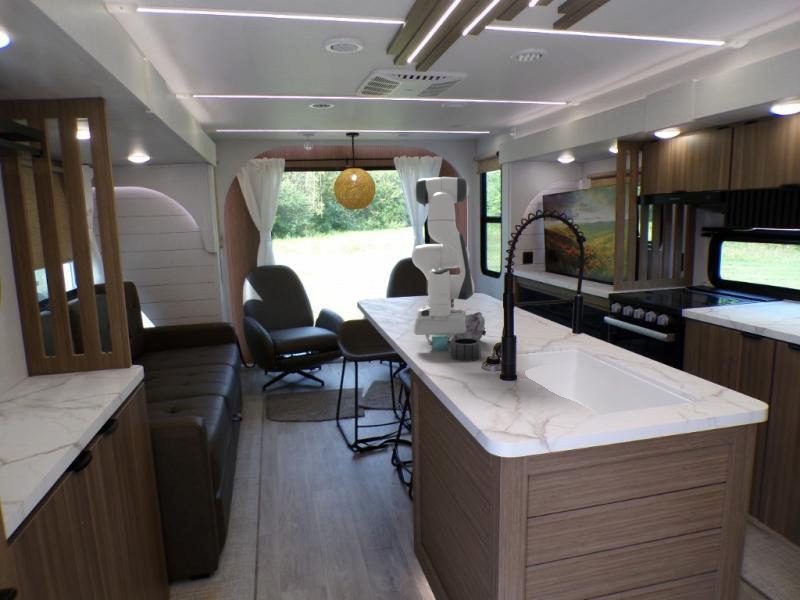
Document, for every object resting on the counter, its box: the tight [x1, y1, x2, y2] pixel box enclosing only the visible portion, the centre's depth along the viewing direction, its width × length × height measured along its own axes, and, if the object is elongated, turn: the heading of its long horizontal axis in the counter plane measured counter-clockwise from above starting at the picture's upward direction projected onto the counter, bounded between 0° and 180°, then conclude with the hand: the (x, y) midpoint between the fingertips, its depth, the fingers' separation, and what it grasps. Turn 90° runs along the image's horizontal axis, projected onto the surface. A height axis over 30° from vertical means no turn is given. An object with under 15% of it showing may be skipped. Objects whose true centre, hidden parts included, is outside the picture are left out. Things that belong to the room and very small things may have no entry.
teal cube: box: [431, 334, 449, 352], centre depth 209 cm, size 6×6×5 cm
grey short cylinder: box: [449, 338, 482, 362], centre depth 197 cm, size 11×11×6 cm
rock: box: [453, 311, 487, 341], centre depth 220 cm, size 22×10×15 cm, turn 6°
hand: (439, 345), depth 209 cm, fingers closed on teal cube, 6 cm apart
